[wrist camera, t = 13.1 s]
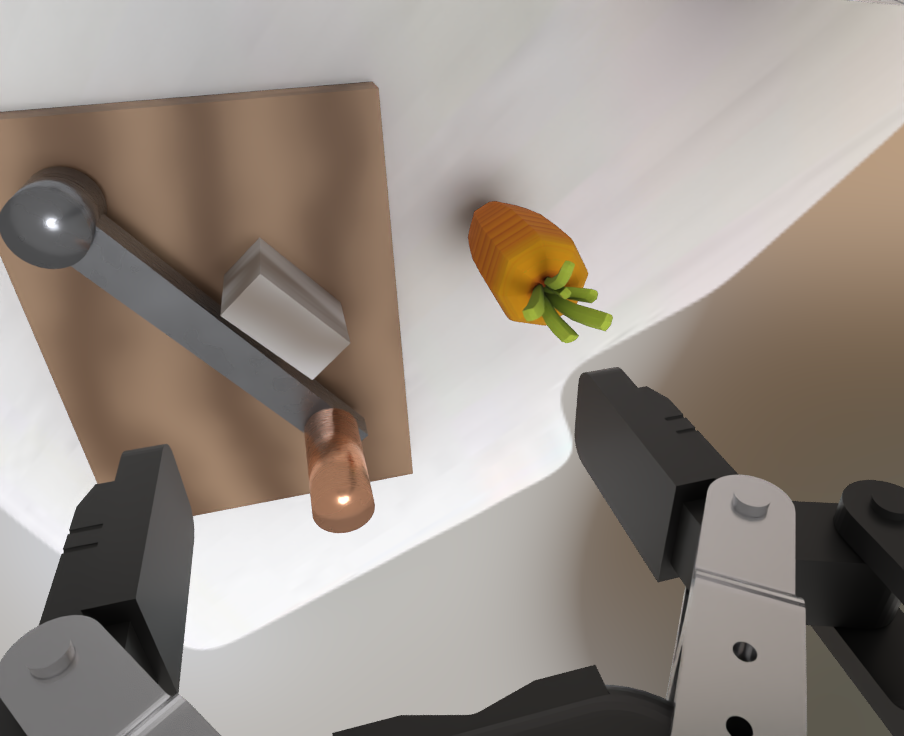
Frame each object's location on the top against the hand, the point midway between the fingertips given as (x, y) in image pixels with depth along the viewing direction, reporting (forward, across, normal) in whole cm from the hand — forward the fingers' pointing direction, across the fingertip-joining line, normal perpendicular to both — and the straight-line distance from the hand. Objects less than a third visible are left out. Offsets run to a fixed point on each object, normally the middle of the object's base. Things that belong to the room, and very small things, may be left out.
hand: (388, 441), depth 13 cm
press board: (+28, +6, +11) cm, 31 cm away
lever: (+26, +7, +9) cm, 28 cm away
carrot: (+28, -10, +6) cm, 31 cm away
